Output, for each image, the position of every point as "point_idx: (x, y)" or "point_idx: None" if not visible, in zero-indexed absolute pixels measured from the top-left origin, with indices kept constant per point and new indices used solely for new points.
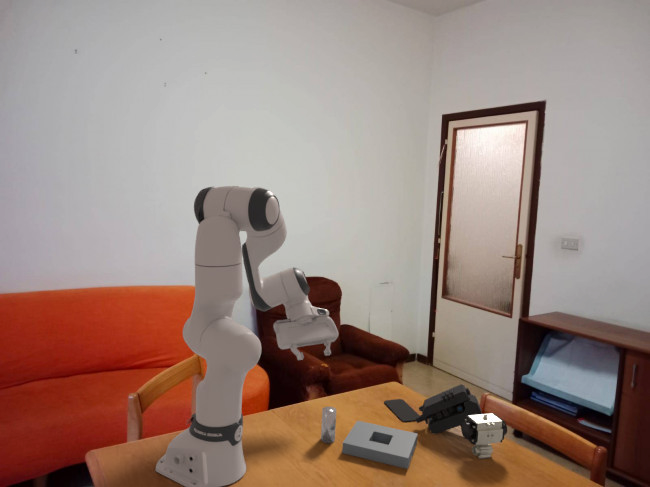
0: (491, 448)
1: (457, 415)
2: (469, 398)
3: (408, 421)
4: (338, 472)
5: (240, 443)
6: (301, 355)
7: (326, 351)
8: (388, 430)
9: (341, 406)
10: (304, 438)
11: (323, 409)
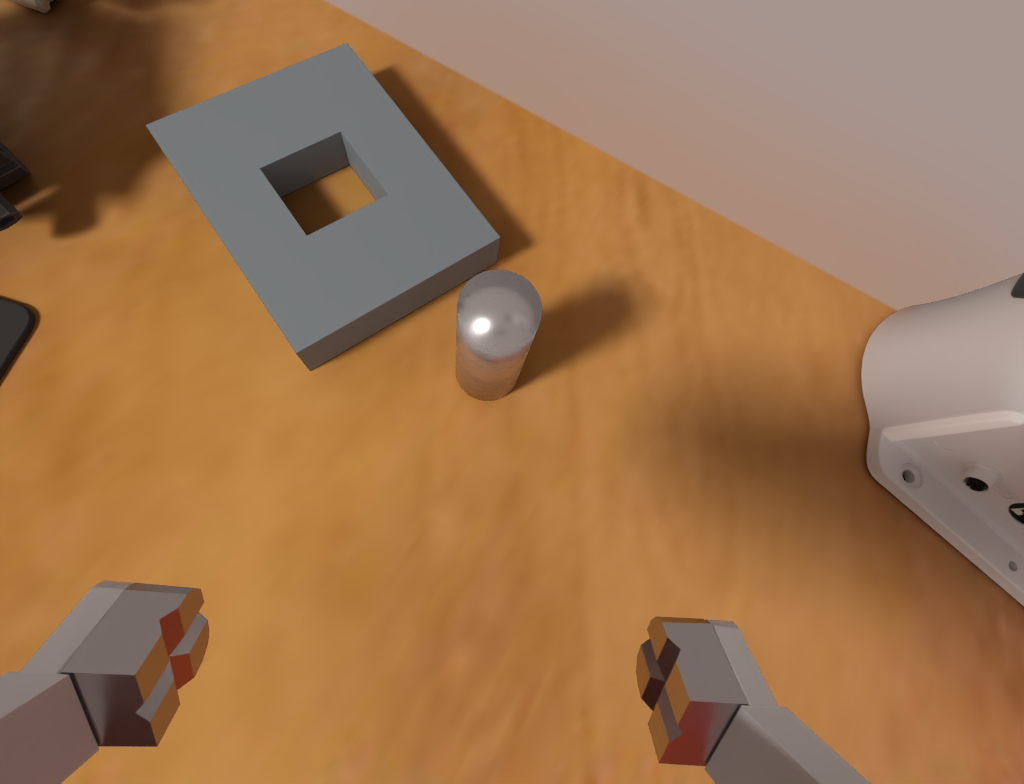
0: None
1: None
2: None
3: (8, 301)
4: (579, 184)
5: (997, 295)
6: (708, 643)
7: (164, 632)
8: (239, 206)
9: None
10: (574, 431)
11: (530, 326)
